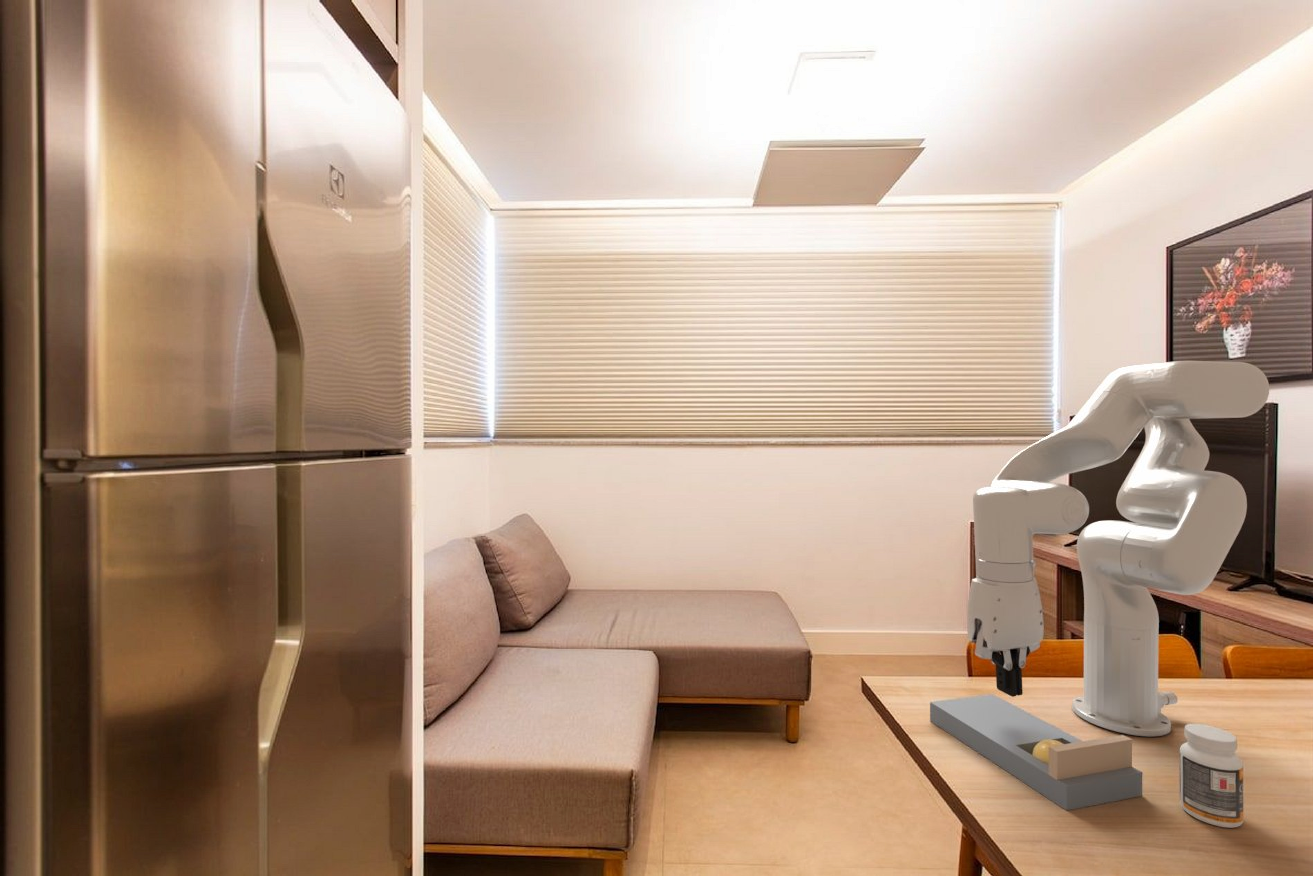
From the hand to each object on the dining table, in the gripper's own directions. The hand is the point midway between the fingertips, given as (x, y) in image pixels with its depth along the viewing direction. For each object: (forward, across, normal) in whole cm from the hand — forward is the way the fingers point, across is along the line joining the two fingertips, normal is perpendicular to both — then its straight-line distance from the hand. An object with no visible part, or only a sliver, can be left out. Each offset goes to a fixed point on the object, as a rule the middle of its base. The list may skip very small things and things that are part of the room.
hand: (1009, 692), depth 91 cm
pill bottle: (+8, -8, +21) cm, 24 cm away
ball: (+4, +3, +10) cm, 12 cm away
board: (+7, +2, +4) cm, 8 cm away
